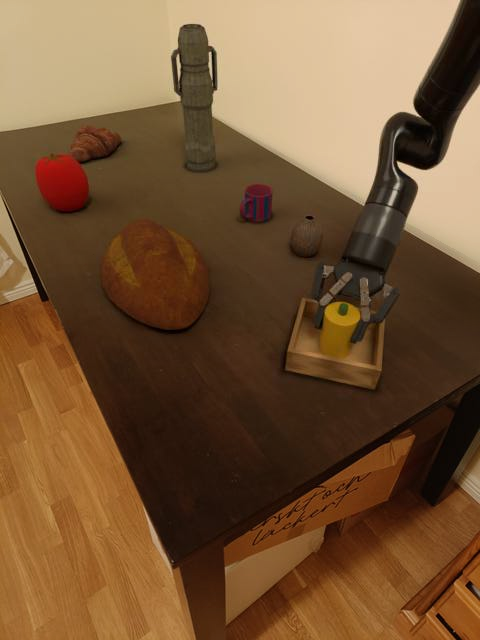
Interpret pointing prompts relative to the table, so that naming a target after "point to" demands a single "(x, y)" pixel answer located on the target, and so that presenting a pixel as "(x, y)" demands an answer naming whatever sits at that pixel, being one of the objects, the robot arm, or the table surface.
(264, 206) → the mug
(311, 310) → the tray
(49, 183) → the red rounded lump
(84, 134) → the pastry
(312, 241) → the vase
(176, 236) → the bread
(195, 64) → the grey stone totem
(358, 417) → the table surface
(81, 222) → the table surface
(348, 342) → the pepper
